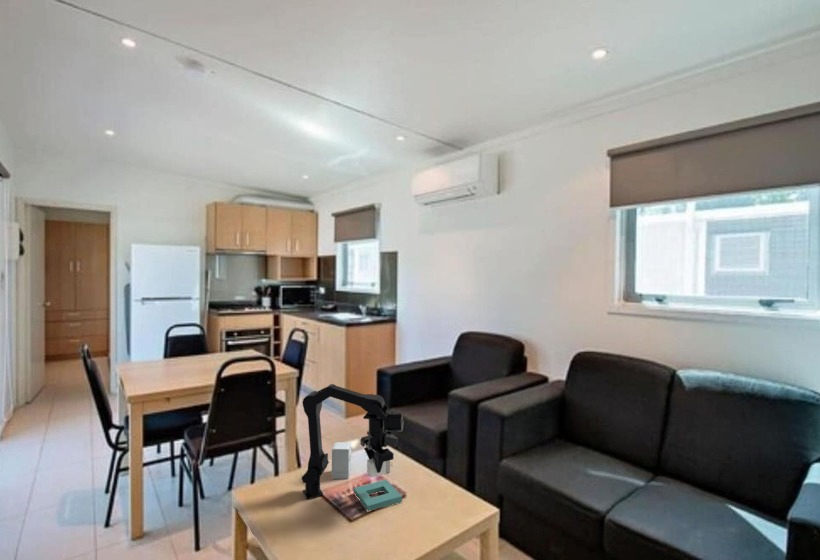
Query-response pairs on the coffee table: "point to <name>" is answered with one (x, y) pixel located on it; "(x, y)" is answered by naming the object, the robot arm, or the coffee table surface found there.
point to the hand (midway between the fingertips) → (376, 470)
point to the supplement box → (341, 460)
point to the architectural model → (388, 466)
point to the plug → (372, 469)
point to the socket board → (378, 501)
